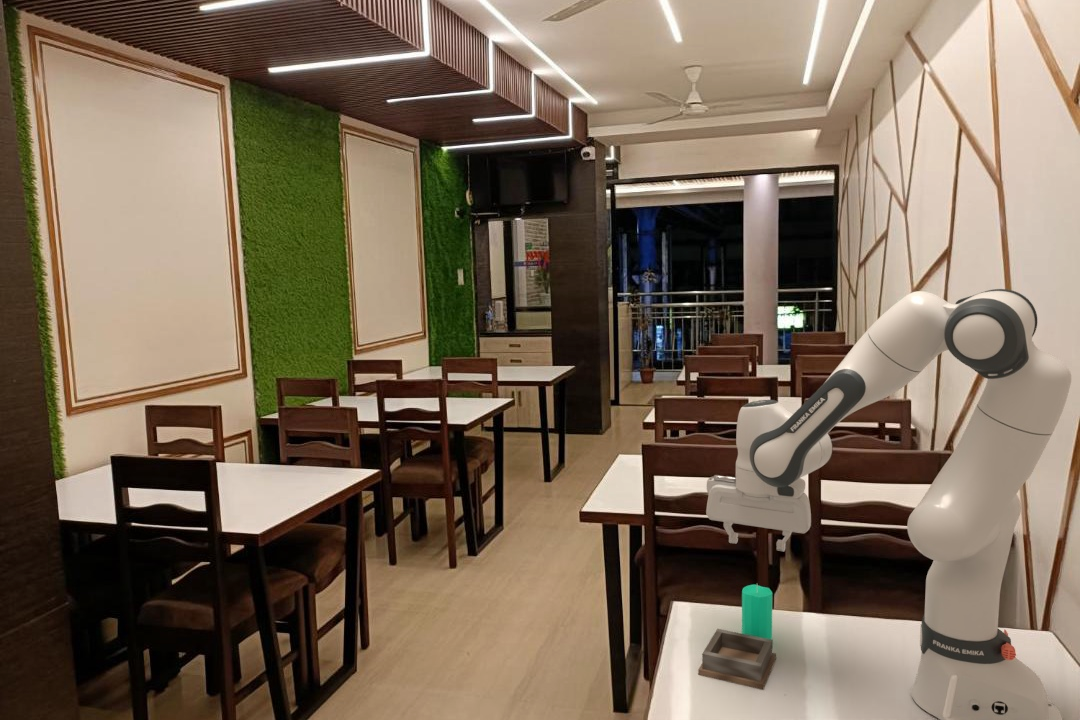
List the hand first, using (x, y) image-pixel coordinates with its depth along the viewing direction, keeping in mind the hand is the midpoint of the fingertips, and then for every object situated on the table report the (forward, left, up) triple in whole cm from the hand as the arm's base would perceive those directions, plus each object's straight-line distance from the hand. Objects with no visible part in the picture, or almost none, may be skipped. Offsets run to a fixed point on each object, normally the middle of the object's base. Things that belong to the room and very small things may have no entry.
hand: (756, 546), depth 155 cm
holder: (+1, +12, -20) cm, 23 cm away
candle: (0, 0, -20) cm, 20 cm away
